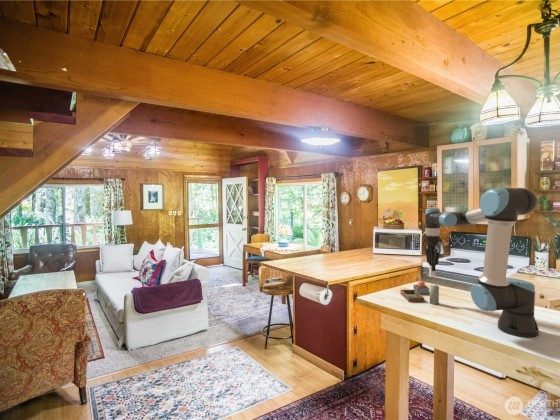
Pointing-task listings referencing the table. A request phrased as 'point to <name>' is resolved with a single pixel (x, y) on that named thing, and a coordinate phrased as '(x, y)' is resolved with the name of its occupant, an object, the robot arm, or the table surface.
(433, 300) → the cell
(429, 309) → the table surface
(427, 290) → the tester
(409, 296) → the wooden tray
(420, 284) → the coral capsule
